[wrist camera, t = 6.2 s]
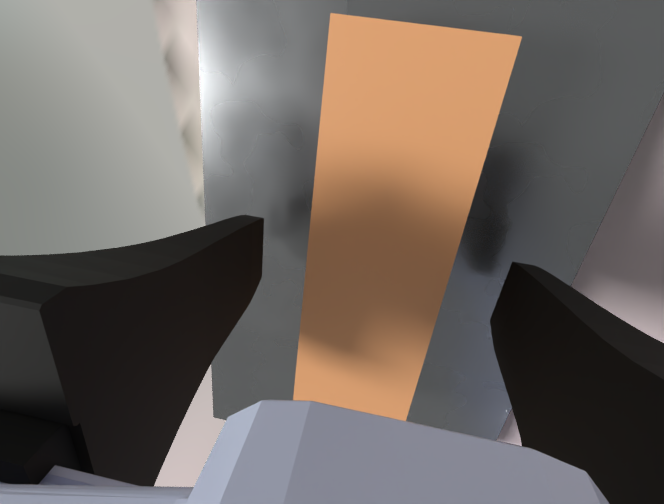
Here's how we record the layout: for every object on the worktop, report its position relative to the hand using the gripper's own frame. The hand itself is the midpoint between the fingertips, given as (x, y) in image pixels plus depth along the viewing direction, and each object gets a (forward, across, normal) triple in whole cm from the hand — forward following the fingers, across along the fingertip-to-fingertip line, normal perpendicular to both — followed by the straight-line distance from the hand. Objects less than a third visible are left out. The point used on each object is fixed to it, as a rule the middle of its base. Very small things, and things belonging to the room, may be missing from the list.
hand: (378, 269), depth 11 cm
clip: (+3, 0, 0) cm, 3 cm away
